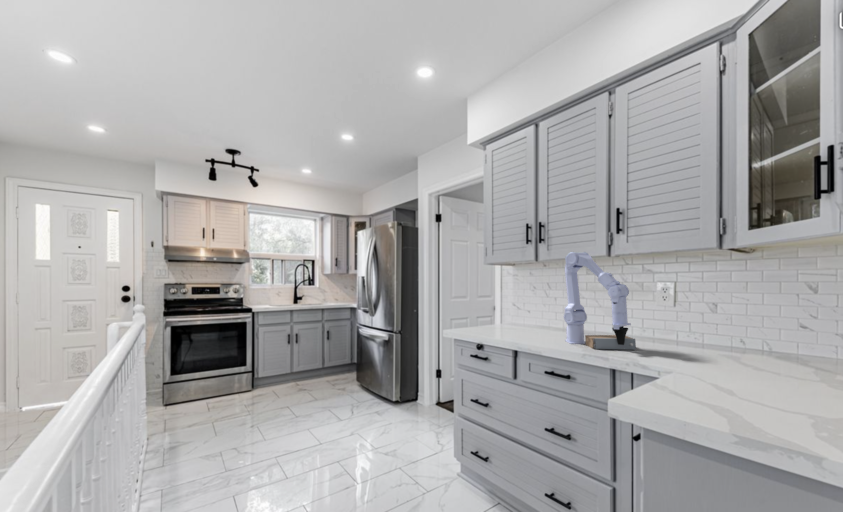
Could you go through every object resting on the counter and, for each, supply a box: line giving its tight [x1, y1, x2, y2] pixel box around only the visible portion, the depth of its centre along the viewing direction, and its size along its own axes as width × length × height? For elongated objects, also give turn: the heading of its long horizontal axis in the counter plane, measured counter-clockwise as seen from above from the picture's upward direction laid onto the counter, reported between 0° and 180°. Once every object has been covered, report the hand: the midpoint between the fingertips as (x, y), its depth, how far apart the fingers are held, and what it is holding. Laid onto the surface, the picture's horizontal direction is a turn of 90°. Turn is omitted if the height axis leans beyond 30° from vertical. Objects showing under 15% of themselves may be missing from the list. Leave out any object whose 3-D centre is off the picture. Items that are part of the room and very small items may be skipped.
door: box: [593, 338, 637, 350], centre depth 158 cm, size 2×17×4 cm, turn 78°
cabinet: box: [584, 334, 634, 350], centre depth 165 cm, size 9×17×4 cm, turn 85°
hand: (621, 344), depth 156 cm, fingers closed, pressing on door
